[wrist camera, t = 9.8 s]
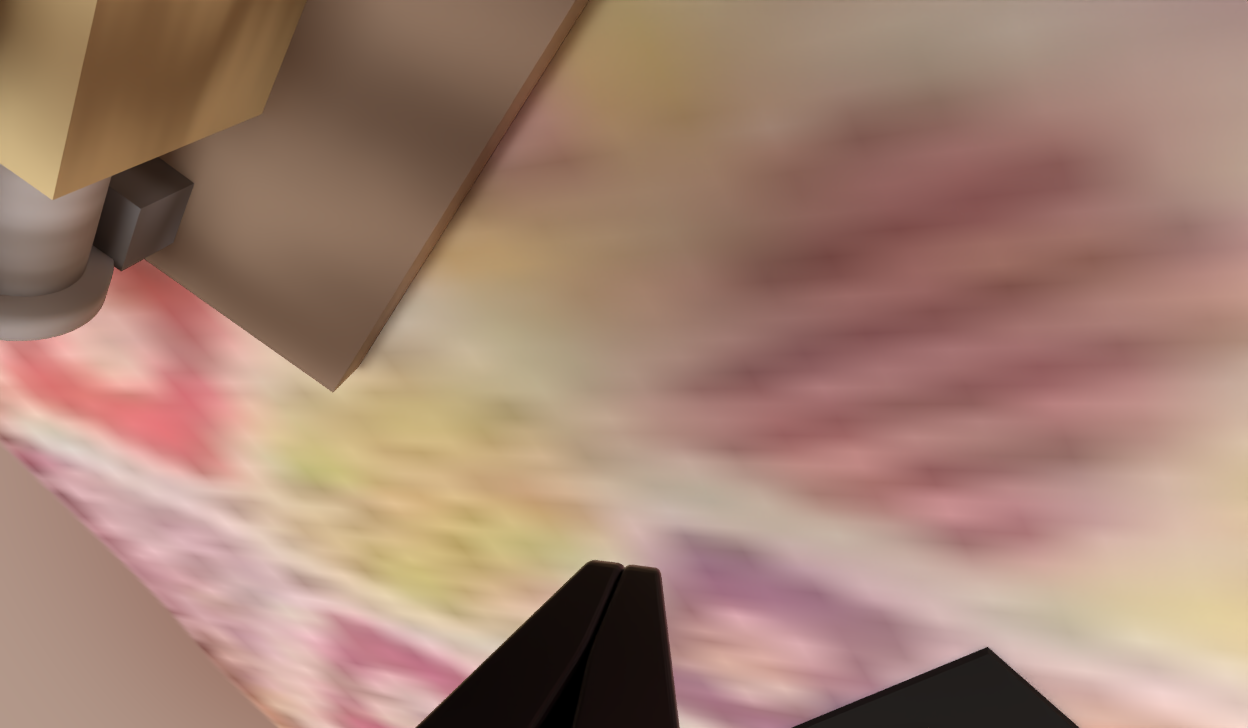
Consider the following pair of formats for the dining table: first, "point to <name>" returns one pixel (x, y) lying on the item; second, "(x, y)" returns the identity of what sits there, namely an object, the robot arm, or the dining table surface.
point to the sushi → (952, 701)
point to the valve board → (251, 153)
